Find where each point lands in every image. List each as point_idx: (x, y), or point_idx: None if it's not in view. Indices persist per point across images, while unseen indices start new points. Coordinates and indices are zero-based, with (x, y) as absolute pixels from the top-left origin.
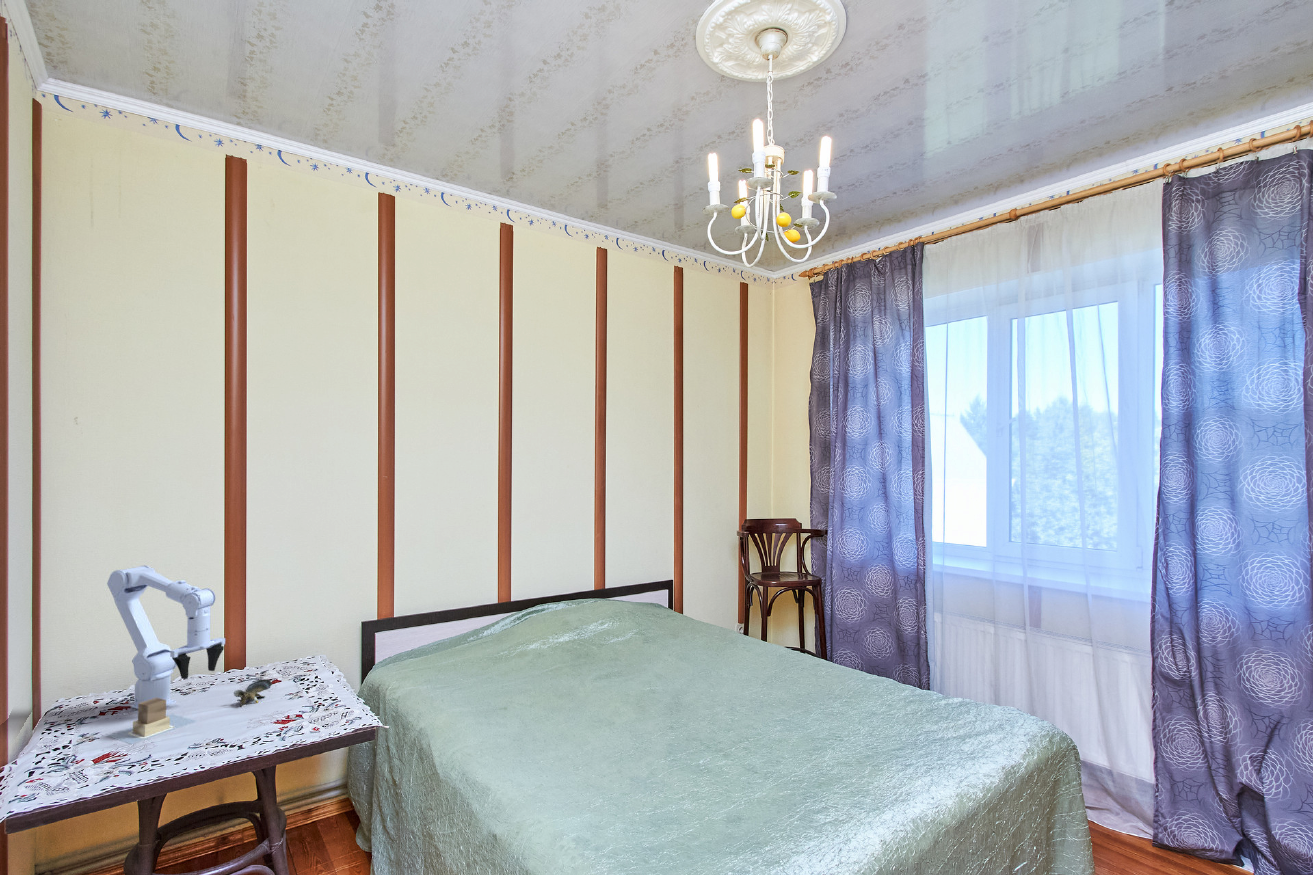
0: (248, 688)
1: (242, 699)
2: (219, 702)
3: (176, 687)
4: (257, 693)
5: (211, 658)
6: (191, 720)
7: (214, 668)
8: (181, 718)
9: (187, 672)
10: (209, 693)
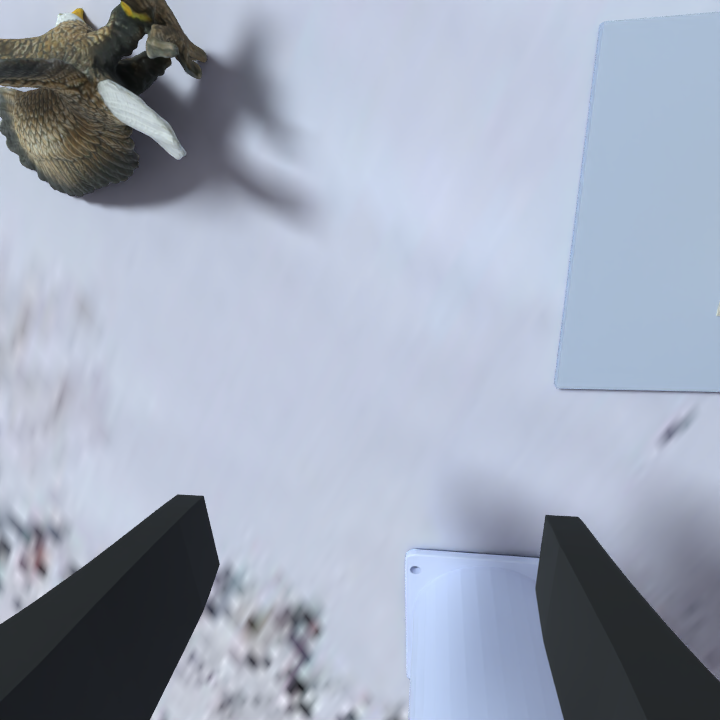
0: (40, 65)
1: (164, 26)
2: (260, 325)
3: (285, 714)
4: (20, 118)
5: (98, 704)
6: (607, 92)
7: (165, 508)
8: (599, 233)
9: (595, 584)
10: (227, 523)
